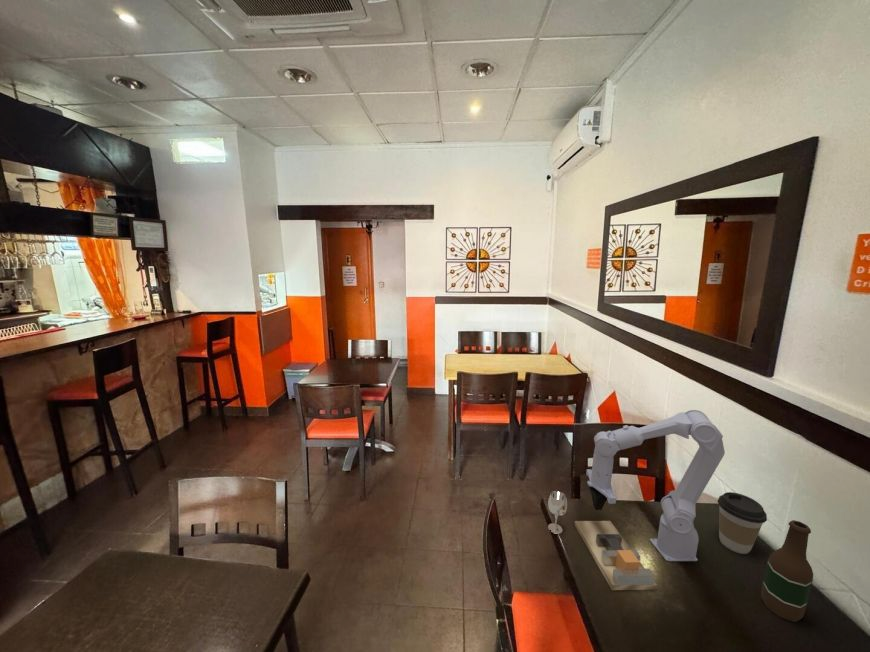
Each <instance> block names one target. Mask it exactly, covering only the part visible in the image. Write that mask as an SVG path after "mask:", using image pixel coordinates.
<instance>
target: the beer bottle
mask: <svg viewBox="0 0 870 652" xmlns="http://www.w3.org/2000/svg"><path fill="white" fill-rule="evenodd" d="M788 525H789V527H788V531H787V533H786V536H785V539H784V542H783V544H782V545H781V547H780V548H778V549H775V550H773V551H772V552H771V553H770V554H769V557H768V559H767V563H766V567H765V572H764V576H763V580H762V586H761V590H760V598H761V600H762V602H763V604H764V606H765V607H766V608H767V609H768V610H769V611H771V612H772V613H773V614H775V615H776V616H778V617H779V618H781V619H784V620H786V621H789V622H793V623H797V622H798V621H800V620H801V619H803V618H804V615H805V613H806V608H807V605H808V602H809V597H810V593H811V589H812V586H813V582H814V571H813V567H812V566H811V564H810V563H809V561H808V559H807V550H808V542H809V535H810V534H811V533H812V530H811V528H810V527H809V526H808V525H807V524H806V523H804V522H801V521H799V520H795V519H794V520H793V519H792V520H790V521H789V522H788Z"/></svg>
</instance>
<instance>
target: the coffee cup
mask: <svg viewBox="0 0 870 652" xmlns="http://www.w3.org/2000/svg"><path fill="white" fill-rule="evenodd" d="M716 501H717V504H718V507H719V508H718V509H719V512H718V514H719V515H718V516H719V518H718V519H719V521H718V525H719V526H718V536H719V541H720V542H721V544H722V546H724V547H725V548H726V549H728V550H730V551H732V552H734V553H738V554H740V555H747V554H749V553H750V552H751V551H752V549H753V547H754V544H755V542H756V539H757V537H758V535H759V534H760V531H761V528H762V526H763V524H765V522H767V521H768V516H767V515H768V514H767V513H766V512H765V510H764V507H763V506H762V505H761V504H760V503H759V502H758V501H756V500H755V499H753V498H752V497H750V496H748V495H744V494H741V493H737V492H732V491H729V492H725V493H723V494H722V495H720V496H718V498H717V500H716Z"/></svg>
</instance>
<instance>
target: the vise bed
mask: <svg viewBox="0 0 870 652" xmlns="http://www.w3.org/2000/svg"><path fill="white" fill-rule="evenodd" d="M574 526H575V527H574V528H576V530H577V532H578V534H579V535H580V537H581V539H582V540H583V542H584V544H585V546H586V548H587V549H588V551H589V553H590V554H591V557H592V558H593V560H594V561H595V563H596V565H597V567H598V568H599V570H600V572H601V574H602V576H603V577H604V579H605V581H606V582H607V584H608V586H609V587H610V590H611V591H647V590H648V591H649V590H650V591H653V590H654V591H655V590H657V588H658V587H657V586H658V584H657V583H656V582H655V581H654V584H653V585H616V584H615V582H614V581H613V579H612V576H613V569H617V568H616V566H615V565H604V563H603V562H602V560H601V555H602V551H607V549H606V547H605V546H598V545H597V543H596V536H597V534H620V532H619V531H618V529H617V528H616V527H615V525H614V524H613V523H612V521H611V520H575V521H574ZM620 536H621V537H622V543H621V546H622V548H623V549H624V550H632V549H631V547H630V546H629V544H628V543H627V541H626V540H625V539H624V538H623V536H622V535H621V534H620ZM639 569H646V568H645V567H644V565H643V564H642V562H641V561H640V566H639Z"/></svg>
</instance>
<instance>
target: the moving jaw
mask: <svg viewBox="0 0 870 652" xmlns="http://www.w3.org/2000/svg"><path fill="white" fill-rule="evenodd" d="M620 535H621V533H619V534H597V536H596V543H597V545H598V546H605V547H606V549H607V551H602V555H601V560H602V562H603V563H604V565H615V563H616V555H617V550H624V549H623V548H622V546H621V543H622V538H623V536H622V535H621V536H622V537H621V536H620ZM631 551H632V552H633V553H634V555H635V556H636V557H637V559H638V560H639V562H641V555H640V553H639V552H638V550H634V549H631Z"/></svg>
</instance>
